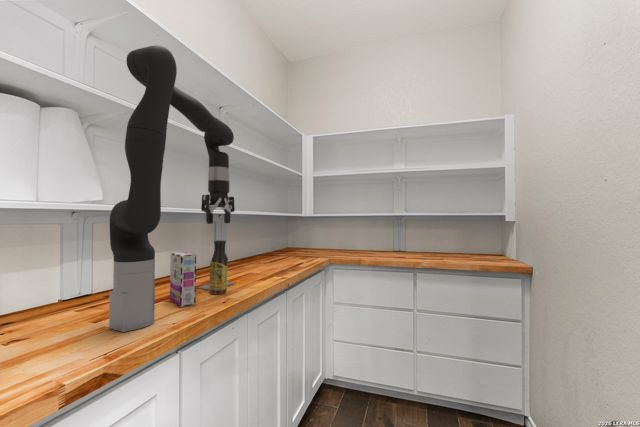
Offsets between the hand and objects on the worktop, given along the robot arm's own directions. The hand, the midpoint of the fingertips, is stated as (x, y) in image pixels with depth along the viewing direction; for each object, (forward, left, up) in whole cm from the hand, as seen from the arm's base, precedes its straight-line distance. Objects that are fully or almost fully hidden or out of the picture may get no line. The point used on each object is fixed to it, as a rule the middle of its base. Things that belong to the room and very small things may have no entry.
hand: (218, 223), depth 107 cm
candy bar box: (-14, +2, -26) cm, 30 cm away
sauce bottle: (0, 0, -26) cm, 26 cm away
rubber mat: (+7, +8, -26) cm, 28 cm away
